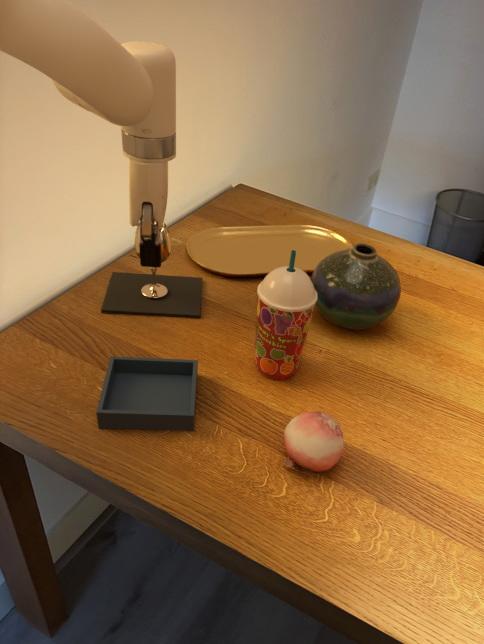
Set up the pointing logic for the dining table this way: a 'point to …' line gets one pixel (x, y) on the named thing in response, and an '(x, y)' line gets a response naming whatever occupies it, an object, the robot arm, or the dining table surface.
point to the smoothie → (283, 319)
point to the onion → (313, 442)
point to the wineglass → (164, 239)
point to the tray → (148, 394)
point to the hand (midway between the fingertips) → (153, 254)
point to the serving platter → (262, 248)
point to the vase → (356, 288)
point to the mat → (175, 303)
